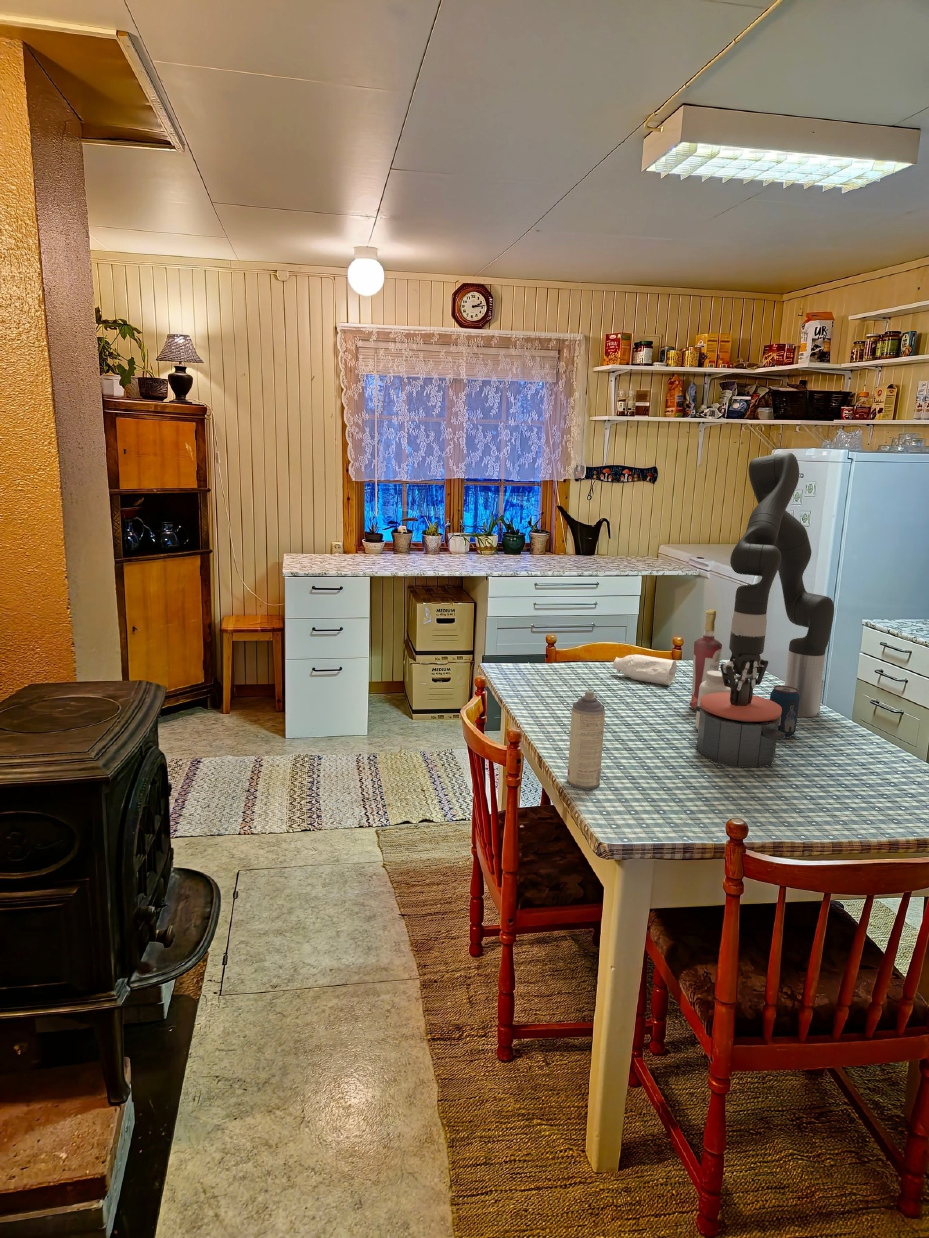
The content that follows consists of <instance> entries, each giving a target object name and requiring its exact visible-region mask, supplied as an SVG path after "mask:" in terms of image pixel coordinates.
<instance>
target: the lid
mask: <svg viewBox="0 0 929 1238" xmlns="http://www.w3.org/2000/svg"><path fill="white" fill-rule="evenodd" d="M735 683H736V684H737V681H736V682H735ZM749 690H750V683H748V682H744V681H743V682H742V686H741V697H740V705H738V706H735V705H732V704H731V703H730V693H729V692H721V693H711V694H707V695H704V696H702V697H701V699H700V706H701V707H702V708H703V709H704V710H705V711H707V712H709V713H712V714H714V715H717V716H721V717H724V718H727V719H731V720H737V721H745V722H757V721H770V720H775V719H778V718H779V717H780V716H781V713H782V708H781V706H780V705H778V704H777V703H775V702H773V701H771V700H770V699H768V698H765V697H763V696H762V697H761V696H758V695H753V696H752V700H751V703H749V704H748V699H749Z"/></svg>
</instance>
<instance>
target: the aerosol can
mask: <svg viewBox="0 0 929 1238" xmlns="http://www.w3.org/2000/svg"><path fill="white" fill-rule="evenodd" d="M584 692H585V693H584V695H583V696H581V698H579V699H578V700H577V701H576V702H574V703H572V707H571V713H570V714H571V715H570V731H569V733H570V734H569V749H568V760H567V762H568V763H567V764H568V765H567V777H566V778H567V780H566V781H567V782H568V783H569V784H568V783H567V784H568V785H569V786H570V785H571V786H570V787H572V786H573V787H572V788H575V789H578V788H580V789H579V790H586V789H588V790H594V789H597V788H599V787H600V786H601V776H602V775H601V772H602V761H603V759H602V758H603V747H604V746H603V744H604V733H605V720H606V719H605V718H606V717H605V716H606V710H605V708H606V707H605V705H603V704H602V703H601V701H600V700H598V699H597V697H595V692H594V691H593V690H585V691H584Z"/></svg>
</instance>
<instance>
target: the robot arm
mask: <svg viewBox="0 0 929 1238" xmlns="http://www.w3.org/2000/svg"><path fill="white" fill-rule="evenodd" d="M748 476H749V477H748V478H749V482H750V485H751V489H752V491H753V494H754V496H755V499H756V501H757V504H758V505H756V506H755V507H754V509H753V510H752V512H751V514H750V516H749V519H748V523H747V525H746V526H747V527H746V529H745V530H746V531H745V532H744V534H743V536H741V538H740V540H739V541H737V544H735V547H734V548H733V550H732V552H731V554H730V561H729V563H730V567H731V569H732V571H733V572H734V573H736V574H738V575H744V576H754V577H755V576H756V577H761V580H760V581H759V582H757V583H753V584H743V585H740V586H738V587H737V589H736V591H735V596H734V609H733V613H732V617H731V618H732V619H731V624H730V635H729V636H730V637H729V645H728V649H729V650H730V652H731V655H730V657H729V661H728V662H727V663H721V664H719V668H720V671H721V673H722V677H723V682H724V686H726V687H729V688H730V689H731V693H730V703H731V704H732V705H735V706H738V705H740V697H741V686H742V682H743V681H744V682H748V683H750V690H749V699H748V704H749V703H751V700H752V696H753V694H754V689H755V688H756V686H757V685H761V683H762V681H763V678H764V676H765V673H766V670H767V667H768V665H769V660H765V659H763V658H762V657H761V655H762V654H763V653H764V650H765V641H766V633H767V625H768V624H767V612H768V611H767V610H768V602H769V596H770V593H771V591H770V590H771V587H772V584H773V582H774V579H775V578H776V576H777V573H778V575H779V576H778V577H779V579H780V583H781V589H782V595H783V602H784V609H785V613H786V616H787V618H788V620H789V621H790V622H791V623H792V624H793V625H795V626H799V627H804V628H808V629H807V633H806V635H805V636H803V637H798V638H797V637H796V638H793V639H791V640H790V642H789V645H788V653H787V654H788V655H787V661H786V669H785V670H786V671H785V676H784V677H785V679H784V686H789V687H793V688H796V689H797V690H798V694H799V696H800V700H799V708H798V718H799V717H800V718H814V717H817V716H818V714H820V712H821V705H822V704H821V703H822V695H823V688H824V679H823V672H824V665H825V658H826V650H827V647H828V645H829V642H830V638H831V632H832V631H831V630H832V628H833V627H832V625H833V622H834V616H835V605H834V601H833V599H832V598H831V597H829V596H826V595H822V594H816V593H811V592H808V591H807V590H806V588H805V585H804V581H803V579H804V578H803V576H804V573H805V570H807V567H808V564H809V562H810V561H811V557H812V546H811V542H810V539H809V535H808V532H807V529H806V528H805V526H804V525H803V523H801V522H800V521H799V520H798V519H797V518H796V517H795V516H793V515H792V514H791V513H790V512H789V511H787V510H786V509H787V507H788V506H789V503H790V502H791V500H792V498H793V496H794V493H795V491H796V490H797V487H798V484H799V479H800V465H799V463H798V459H797V457H796V456H795V454H793V452H780V453H775V454H769V455H765V456H759V457H755V458H753V459H751V460H750V461H749V464H748ZM736 682H737V684H736ZM817 713H818V714H817Z"/></svg>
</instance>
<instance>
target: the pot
mask: <svg viewBox="0 0 929 1238" xmlns="http://www.w3.org/2000/svg"><path fill="white" fill-rule="evenodd" d="M697 711H699V712H700V717H699V728H698V729H697V741H696V750H697V752H698V753H699V755H700V756H701V757H703V758H705V759H707V760H709V761H712V762H714V763H716V764H721V765H726V766H730V767H736V768H747V769H748V768H753V769H754V768H755V769H757V768H762V767H767V766H771V765H772V763H773V762H774V760H775V759H776V758H775V757H776V751H777V750H776V749H777V741H778V740H780V739H786V738H785V734H786V733H783V732H780V731H778V726H779V718H778V719H775V720H770V721H757V722H745V721H737V720H731V719H727V718H724V717H721V716H717V715H714V714H712V713H709V712H707V711H705V710H704V709H703V708H702V707H701V706H696V711H695V712H697Z"/></svg>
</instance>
